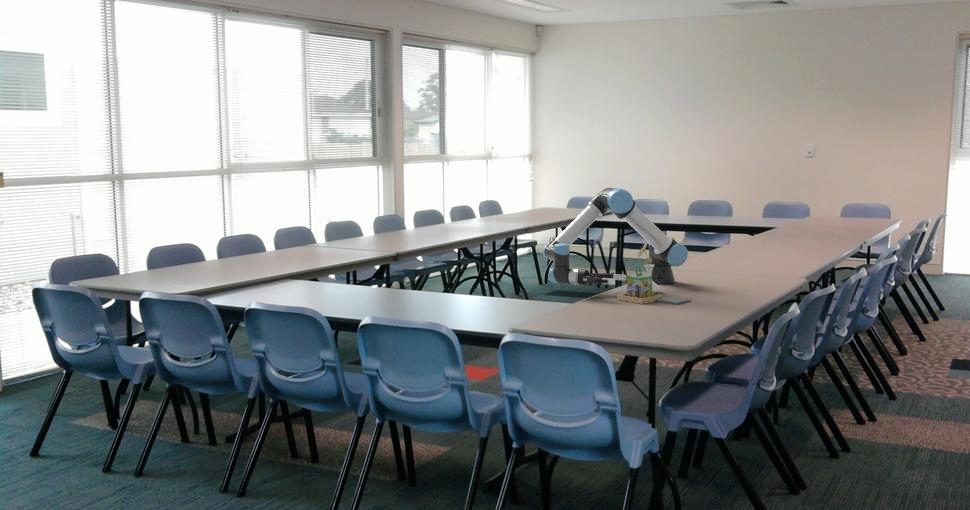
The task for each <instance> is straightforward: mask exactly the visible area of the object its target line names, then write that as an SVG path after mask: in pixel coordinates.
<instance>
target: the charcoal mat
mask: <svg viewBox="0 0 970 510" xmlns="http://www.w3.org/2000/svg"><path fill="white" fill-rule="evenodd" d="M656 301H657V302H656ZM656 301H655V302H656V303H661V302H664V303H663V304H667V303H670V304H669V305H674V304H677V305H680V304H679V303H682V304H686V303H685V302H687V303H691V302H692V299H690V298H685V297H684V298H683V297H677V296H674V295H673V296H672V295H671V296H666V297H662V298H661V299H656ZM690 301H691V302H690Z"/></svg>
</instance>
